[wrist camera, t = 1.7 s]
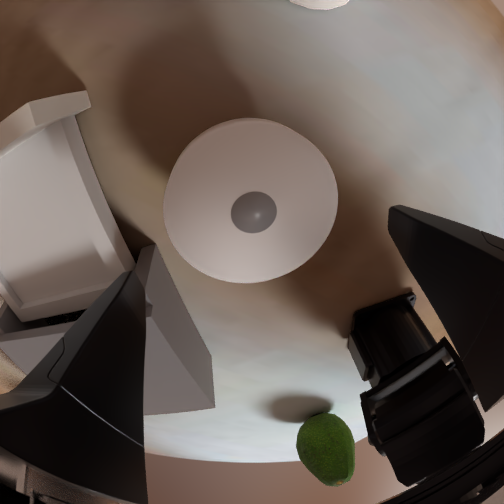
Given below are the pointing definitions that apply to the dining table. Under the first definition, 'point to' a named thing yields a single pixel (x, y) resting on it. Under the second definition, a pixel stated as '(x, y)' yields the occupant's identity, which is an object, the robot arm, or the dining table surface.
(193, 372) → the housing
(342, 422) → the avocado
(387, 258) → the dining table surface
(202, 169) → the disc
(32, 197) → the white drawer
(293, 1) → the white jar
